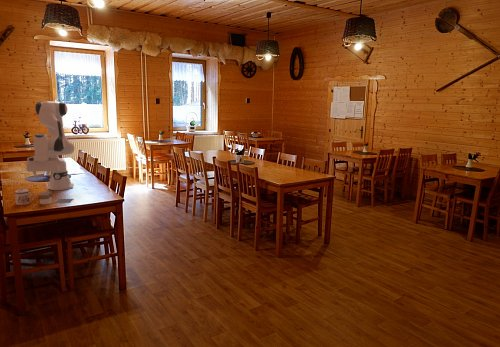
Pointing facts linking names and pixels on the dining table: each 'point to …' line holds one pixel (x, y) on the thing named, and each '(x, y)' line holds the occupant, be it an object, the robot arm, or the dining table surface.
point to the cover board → (45, 195)
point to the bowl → (45, 201)
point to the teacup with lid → (22, 196)
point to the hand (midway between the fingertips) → (44, 177)
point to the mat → (64, 200)
